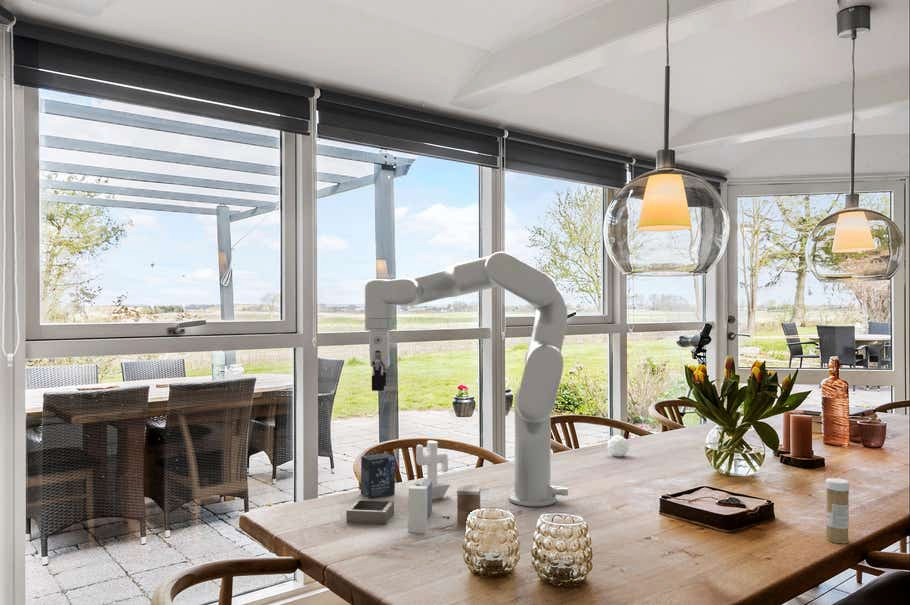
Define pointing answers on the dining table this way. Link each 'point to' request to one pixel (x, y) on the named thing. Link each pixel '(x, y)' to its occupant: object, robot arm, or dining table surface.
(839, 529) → the sprinkles bottle
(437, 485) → the figurine
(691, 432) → the dining table surface
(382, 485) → the box
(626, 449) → the ornament
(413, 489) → the grey upright block
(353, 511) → the tray
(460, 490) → the stop block
